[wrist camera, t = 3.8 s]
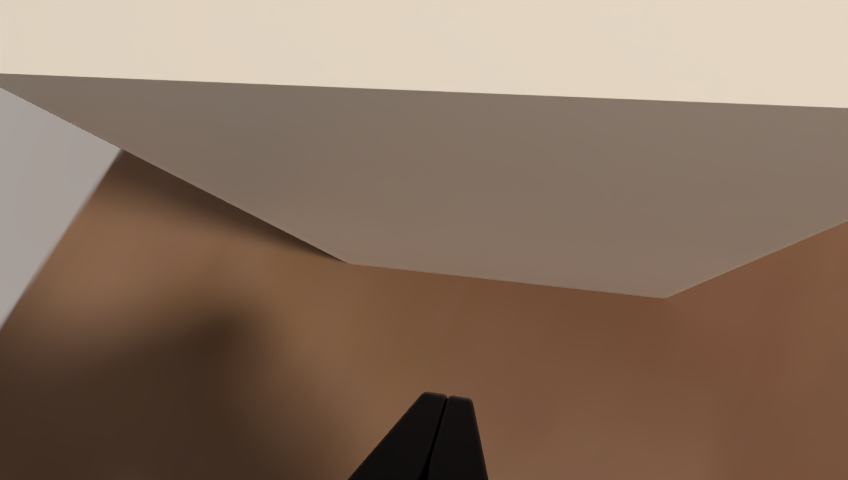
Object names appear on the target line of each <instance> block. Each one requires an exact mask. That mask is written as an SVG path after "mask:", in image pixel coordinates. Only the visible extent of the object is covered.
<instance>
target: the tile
mask: <svg viewBox="0 0 848 480" xmlns="http://www.w3.org/2000/svg"><path fill="white" fill-rule="evenodd" d="M0 87H1V88H3V89H5V90H7V91H9V92H11V93H13V94H15V95H17V96H19V97H21V98H23V99H25V100H26V101H28V102H30V103H32V104H34V105H37V106H38V107H40V108H42V109H44V110H46V111H48V112H50V113H52V114H54V115H56V116H58V117H60V118H62V119H64V120H66V121H68V122H70V123H72V124H74V125H76V126H78V127H80V128H82V129H84V130H86V131H88V132H90V133H92V134H94V135H95V136H97V137H99V138H101V139H103V140H105V141H108V142H109V143H111V144H114V145H115V146H117V147H119V148H121V149H123V150H125V151H127V152H129V153H131V154H133V155H135V156H137V157H139V158H141V159H143V160H145V161H147V162H149V163H151V164H153V165H155V166H157V167H159V168H161V169H163V170H164V171H166V172H168V173H170V174H172V175H174V176H176V177H178V178H180V179H182V180H184V181H186V182H188V183H190V184H192V185H194V186H196V187H198V188H200V189H202V190H204V191H206V192H208V193H210V194H212V195H214V196H216V197H218V198H220V199H222V200H224V201H226V202H228V203H230V204H232V205H234V206H236V207H237V208H239V209H241V210H243V211H245V212H247V213H249V214H251V215H253V216H255V217H257V218H259V219H261V220H263V221H265V222H267V223H269V224H271V225H273V226H275V227H277V228H279V229H281V230H283V231H285V232H287V233H289V234H291V235H293V236H295V237H297V238H299V239H301V240H303V241H305V242H307V243H309V244H310V245H312V246H314V247H316V248H318V249H320V250H322V251H324V252H326V253H328V254H330V255H332V256H334V257H336V258H338V259H340V260H342V261H344V262H346V263H348V264H357V265H366V266H375V267H384V268H393V269H402V270H411V271H420V272H429V273H438V274H447V275H456V276H465V277H474V278H483V279H492V280H501V281H510V282H519V283H528V284H537V285H546V286H555V287H564V288H573V289H582V290H591V291H600V292H609V293H618V294H627V295H636V296H646V297H655V298H664V299H665V298H667V297H669V296H672V295H674V294H676V293H679V292H681V291H684V290H686V289H688V288H691V287H693V286H695V285H698V284H700V283H702V282H705V281H707V280H710V279H712V278H714V277H717V276H719V275H721V274H724V273H726V272H728V271H731V270H733V269H735V268H738V267H740V266H743V265H745V264H747V263H750V262H752V261H754V260H757V259H759V258H761V257H764V256H766V255H769V254H771V253H773V252H776V251H778V250H780V249H783V248H785V247H787V246H790V245H792V244H795V243H797V242H799V241H802V240H804V239H806V238H809V237H811V236H813V235H816V234H818V233H820V232H823V231H825V230H828V229H830V228H832V227H835V226H837V225H839V224H842V223H844V222H846V221H848V0H0Z"/></svg>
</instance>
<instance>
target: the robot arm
mask: <svg viewBox="0 0 848 480" xmlns="http://www.w3.org/2000/svg"><path fill="white" fill-rule="evenodd" d="M348 480H488V475H487V470H486V465H485V460H484V455H483V450H482V446H481V441H480V436H479V431H478V426H477V421H476V416H475V411H474V406H473V402H472V400H471V399H469V398H464V397H458V396H450V397H449V398H447V396H446V395H444V394H439V393H432V392H425V393H423V394H422V395H421V396H420V397H419V398H418V399H417V400H416V401H415V402H414V404H413V405H412V406H411V407H410V408H409V409H408V411H407V412H406V413H405V414H404V415H403V416H402V417H401V419H400V420H399V421H398V422H397V423H396V424H395V426H394V427H393V428H392V429H391V430H390V431H389V433H388V434H387V435H386V436H385V437H384V438H383V439H382V441H381V442H380V443H379V444H378V445H377V446H376V448H375V449H374V450H373V451H372V452H371V453H370V454H369V456H368V457H367V458H366V459H365V460H364V461H363V463H362V464H361V465H360V466H359V467H358V468H357V470H356V471H355V472H354V473H353V474H352V475H351V476H350V478H349V479H348Z"/></svg>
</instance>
